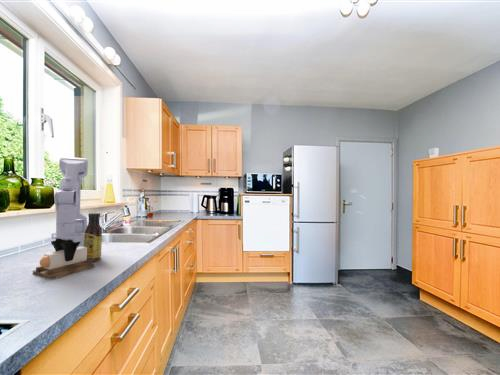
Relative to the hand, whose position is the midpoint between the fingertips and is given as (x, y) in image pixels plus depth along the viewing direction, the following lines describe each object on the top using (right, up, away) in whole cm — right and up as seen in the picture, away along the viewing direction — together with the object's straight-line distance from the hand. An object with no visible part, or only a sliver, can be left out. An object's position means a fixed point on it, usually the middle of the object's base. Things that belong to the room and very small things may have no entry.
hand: (65, 259), depth 87 cm
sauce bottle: (+2, -4, +12) cm, 13 cm away
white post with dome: (0, -2, -1) cm, 2 cm away
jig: (0, -4, 0) cm, 4 cm away
